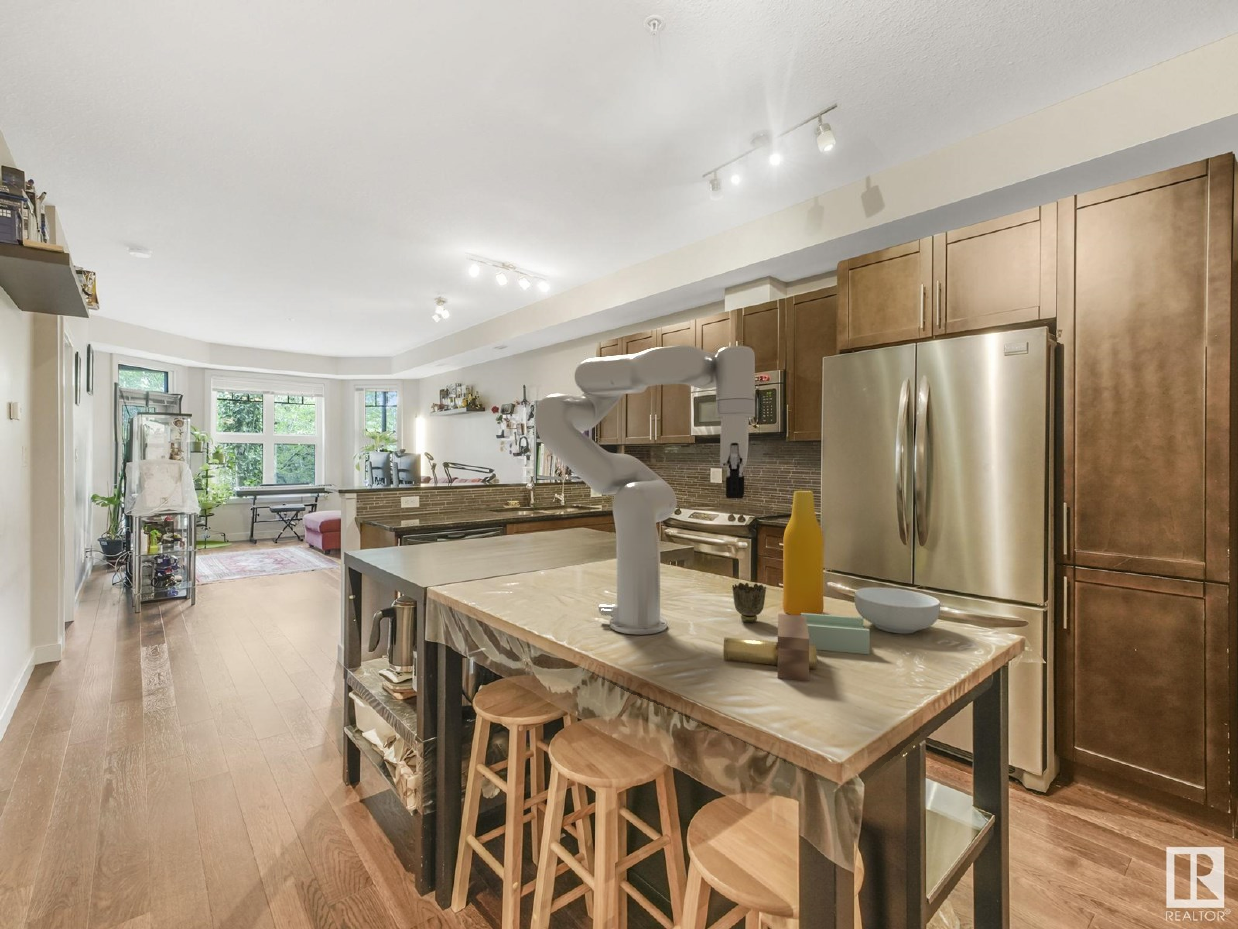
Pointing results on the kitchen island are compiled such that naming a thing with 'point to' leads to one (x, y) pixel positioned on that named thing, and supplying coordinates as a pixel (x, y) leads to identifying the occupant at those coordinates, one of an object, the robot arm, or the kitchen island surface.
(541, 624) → the kitchen island surface
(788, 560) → the beer bottle
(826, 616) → the v block
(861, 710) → the kitchen island surface
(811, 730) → the kitchen island surface
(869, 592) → the cereal bowl
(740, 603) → the cup
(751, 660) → the axle
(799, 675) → the beam
